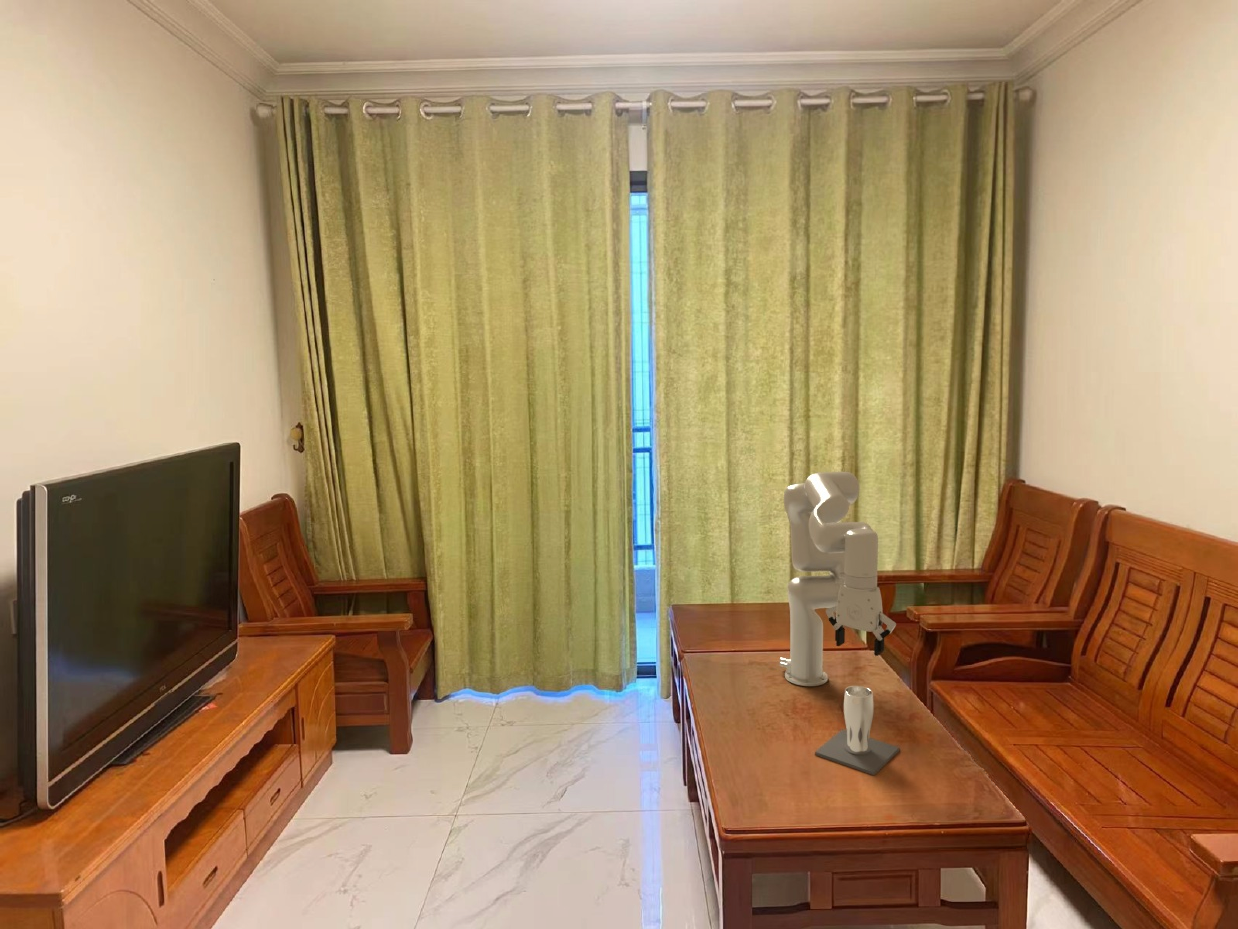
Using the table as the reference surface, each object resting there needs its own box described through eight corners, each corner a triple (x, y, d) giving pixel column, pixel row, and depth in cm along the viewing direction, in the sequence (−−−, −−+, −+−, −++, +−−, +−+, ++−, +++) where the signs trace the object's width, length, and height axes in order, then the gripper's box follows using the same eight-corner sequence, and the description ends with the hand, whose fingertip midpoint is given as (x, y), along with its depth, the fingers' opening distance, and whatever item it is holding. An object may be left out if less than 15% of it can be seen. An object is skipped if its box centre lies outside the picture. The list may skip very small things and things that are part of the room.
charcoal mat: (815, 754, 190) (815, 751, 190) (842, 732, 202) (842, 729, 201) (874, 775, 181) (874, 772, 180) (899, 750, 192) (899, 747, 192)
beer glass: (853, 758, 187) (854, 699, 185) (837, 744, 193) (838, 687, 191) (878, 753, 189) (879, 695, 187) (861, 740, 195) (863, 683, 193)
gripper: (819, 578, 189) (818, 645, 191) (889, 591, 177) (887, 663, 180) (834, 571, 194) (833, 636, 197) (902, 583, 183) (900, 653, 185)
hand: (859, 649), depth 188 cm, fingers open, 9 cm apart
